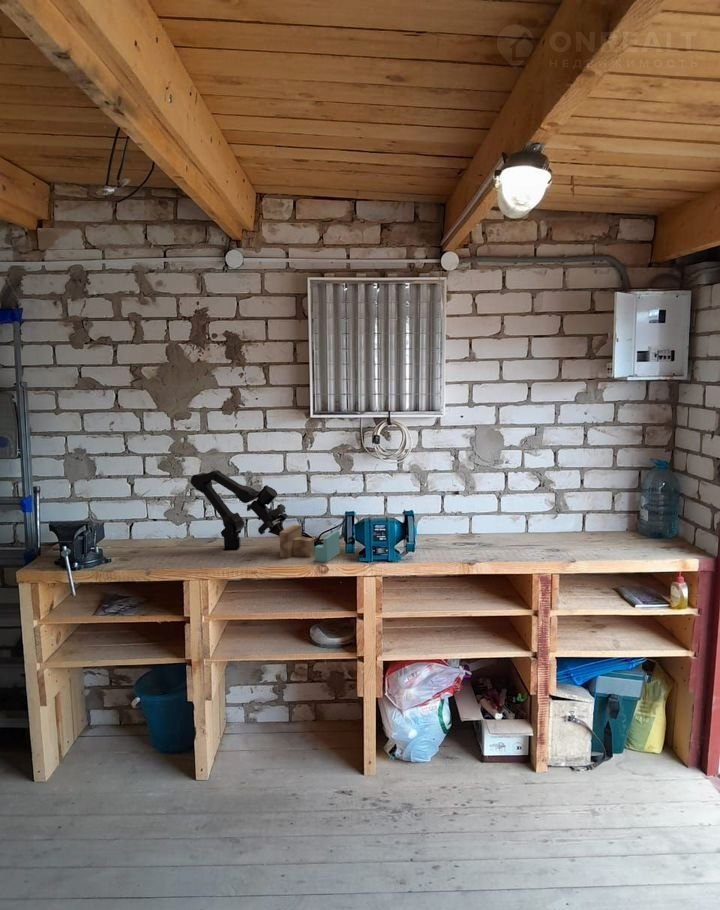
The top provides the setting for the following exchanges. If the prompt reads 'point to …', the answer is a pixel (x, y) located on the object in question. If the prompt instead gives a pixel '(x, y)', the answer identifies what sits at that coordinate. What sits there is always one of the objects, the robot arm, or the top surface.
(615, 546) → the top surface
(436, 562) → the top surface
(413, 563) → the top surface
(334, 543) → the teal block
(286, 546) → the walnut t block
